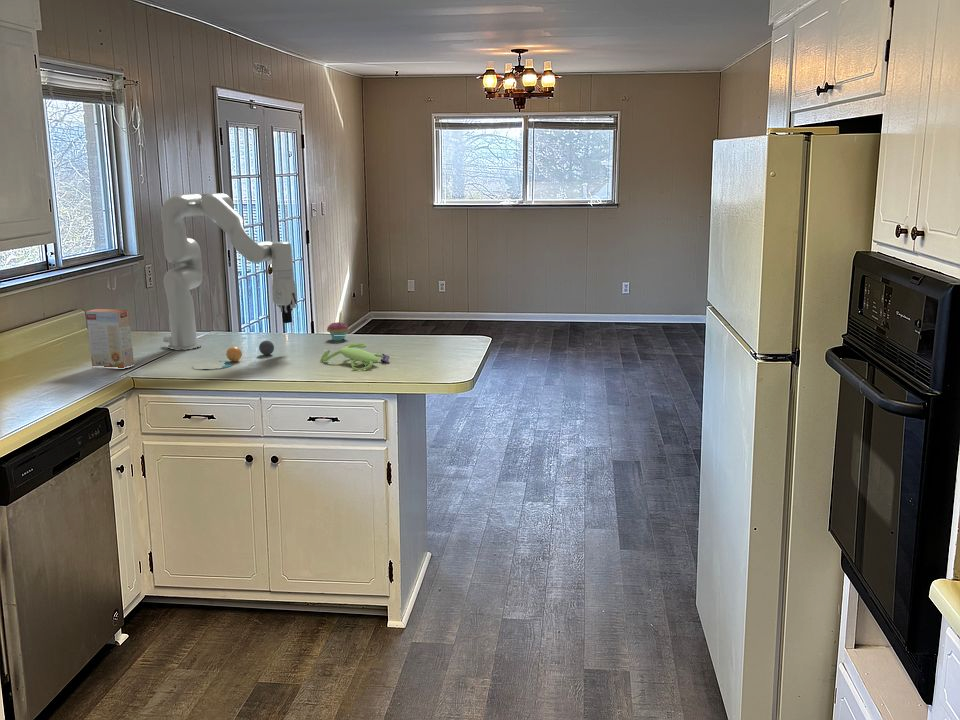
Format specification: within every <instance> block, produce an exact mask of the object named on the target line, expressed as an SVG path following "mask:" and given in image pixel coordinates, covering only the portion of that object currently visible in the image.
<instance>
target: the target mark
mask: <svg viewBox="0 0 960 720" xmlns="http://www.w3.org/2000/svg"><path fill="white" fill-rule="evenodd" d="M222 361H223V362H225V363H224V364H225V365H223V366H222V368H223V369H227V368H229V367H232V366H234V363H233V361H230V360H229V361H228V360H222Z"/></svg>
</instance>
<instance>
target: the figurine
mask: <svg viewBox="0 0 960 720" xmlns="http://www.w3.org/2000/svg"><path fill="white" fill-rule="evenodd" d="M365 348H367V344H366V343H364V342H355V343H354V342H353V343H347V344H345V347H341V348H340V349H338V350H336V351H335V352H333V353H331V350H330V349H327V350H326V351H325V352H324V353H323V354H322V356H321V357H320V361H319V362H320V363H322V362H321V361H323V362H328V361H329V360H330V359H332V358H334V357H335V356H337V355H340V354H341V355H343V356H344V357H346V358H348V359H351V360H352V361H350V366H351V369H352V370H353V369H354V370H353V371H355V370H364V369H368V370H370V369H371V368H372V366H373V365H374V363H377V362H378V361H379V358H380V362H382V361H385V362H384V363H388V362H389V360H390V355H387V354H384V353H382V354H381V353H380V354H379V353H371V352H369V351H366V350H364V349H365ZM330 353H331V354H330ZM329 354H330V355H329ZM356 362H360V363H357V364H355V363H356ZM362 365H367V366H364V367H361V368H357V366H362ZM354 366H355V367H354Z"/></svg>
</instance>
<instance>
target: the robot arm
mask: <svg viewBox="0 0 960 720" xmlns="http://www.w3.org/2000/svg"><path fill="white" fill-rule="evenodd" d="M199 216H207V217H208V218H209V219H210V220H211V221H212V222H214V223H215V225H217V226H218V227H219V228H220V229H221V230H223V232H224V233H225V234H226V235H227V236H228V239H229V241H230V243H231V245H232V247H233V248H234V249H235V251H237V252H238V253H239V254H240V256H242V257H243V258H245V260H247V261H249V262H250V263H252V264H260V263H264V262H270V261H271V264H272V277H273V279H272V283H271V284H272V289H271V290H272V302H273V303H272V304H274V305H276V306H277V307H279V309H280V312H281V317H282V323H283V324H289V323H293V316H292V315H293V314H292V312H293V309H296V307H297V305H296V304H298V292H297V287H296V281H295V279H294V277H295V276H294V274H295V273H294V263H293V254H292V253H293V251H292V244H291V243H290V242H289V241H267V240H264V241H257V242H256V241H255V240H254V239H253V238H252V237H250V236H249V234H248V233H247V232H246V231H245V228H244V224H245V219H244V217H242V216H241V214H239V213H238V212H237V211H236V210H235V209H234V202H233V199H232V198H231V197H230V196H229V195H228V194H226V193H222V192H218V193H217V192H216V193H187V194H186V193H185V194H183V193H181V194H177V195H173V196H171V197H169V198H168V199H167V200H165V202H163V205H162V207H161V211H160V217H161V223H162V225H161V226H162V233H163V234H162V236H163V247H164V256H165V258H166V261H167V262H168V263H170V264H173V265H179V266H178V267H177V266H176V267H173V268H171V269H169V270H167V272H166V273H165V274H164V277H163V279H162V280H163V287H164V290H165V294H166V299H167V307H168V316H169V325H170V326H169V327H170V336H164V337H163V340H162V342H163V343H169V344H168V345H167V348H168V347H169V348H173V349H190V350H193V349H192V348H196V349H198V348H197V347H199V348H201V347H202V342H200V341H198V336H197V327H196V316H195V313H196V312H195V306H194V298H193V296H192V293H191V291H190V290H193V289H197V288H198V287H200V286H201V284H202V282H203V277H204V275H203V264H202V252H201V248H200V244H199V243H198V242H197V241H196V240H195V239H194V238H191V237H188V236H187V235H188V234H187V226H186V224H185V221H184V218H187V217H188V218H189V217H199ZM200 346H201V347H200Z"/></svg>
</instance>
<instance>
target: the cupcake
mask: <svg viewBox="0 0 960 720" xmlns="http://www.w3.org/2000/svg"><path fill="white" fill-rule="evenodd" d="M326 331H327V332H328V333H329V334H330V335H331V339H332V340H333V341H336V342H338V341H343V340H342V339H344V340H345V339H346V335H347V332H348V331H349V326H348V325H347V324H346V323H344V322H342V311H340V312H339V317H338V322H335V321H334V322H332V323H330V324H329V325H327V328H326ZM334 335H345V336H334Z"/></svg>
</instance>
